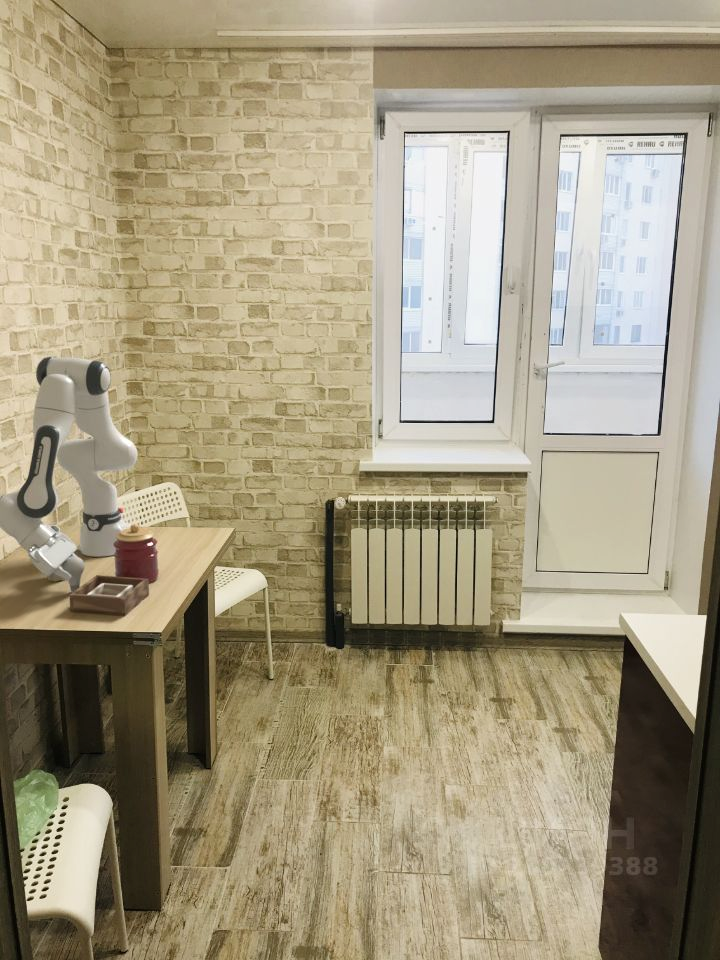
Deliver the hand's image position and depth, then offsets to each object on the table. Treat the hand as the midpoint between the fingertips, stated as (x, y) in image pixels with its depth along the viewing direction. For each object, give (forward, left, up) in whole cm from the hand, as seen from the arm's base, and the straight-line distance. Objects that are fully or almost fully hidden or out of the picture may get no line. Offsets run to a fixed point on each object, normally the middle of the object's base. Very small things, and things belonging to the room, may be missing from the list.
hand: (75, 572), depth 229 cm
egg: (0, -1, -6) cm, 6 cm away
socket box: (+6, +13, -6) cm, 16 cm away
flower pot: (-10, -12, -6) cm, 16 cm away
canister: (-14, +12, -6) cm, 20 cm away
